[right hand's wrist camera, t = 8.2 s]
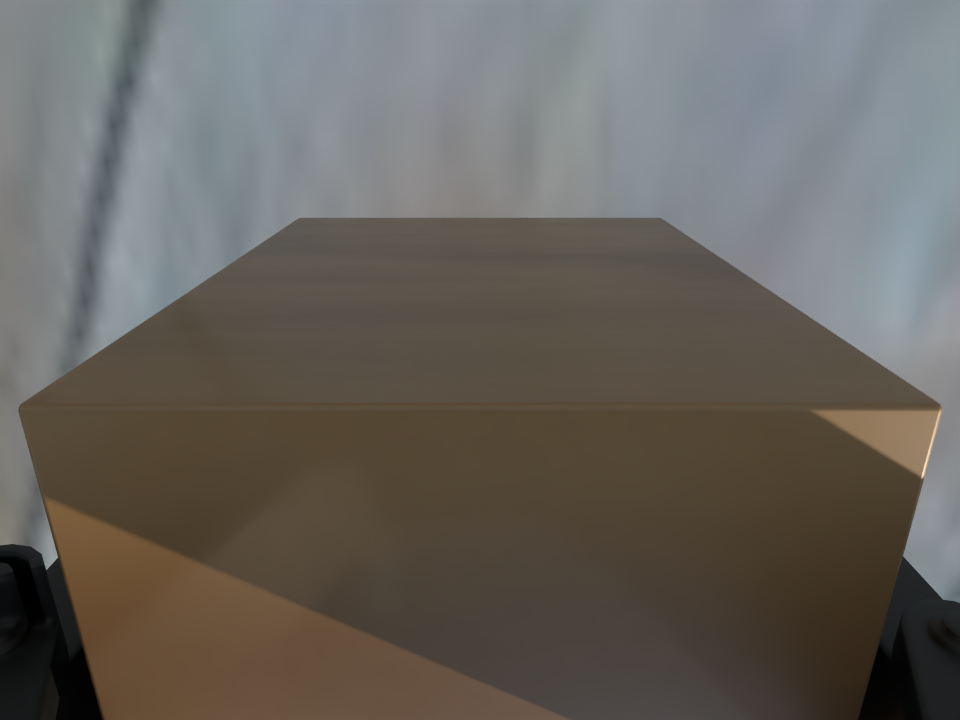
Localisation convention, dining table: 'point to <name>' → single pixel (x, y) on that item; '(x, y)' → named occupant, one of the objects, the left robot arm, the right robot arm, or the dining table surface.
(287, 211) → the dining table surface
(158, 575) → the brown block
